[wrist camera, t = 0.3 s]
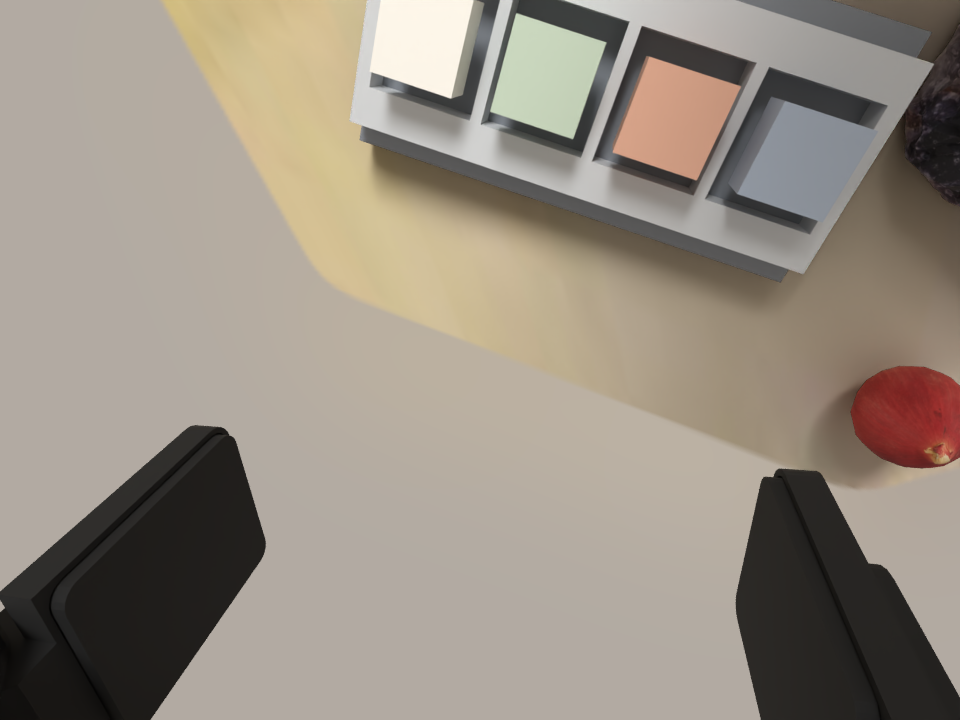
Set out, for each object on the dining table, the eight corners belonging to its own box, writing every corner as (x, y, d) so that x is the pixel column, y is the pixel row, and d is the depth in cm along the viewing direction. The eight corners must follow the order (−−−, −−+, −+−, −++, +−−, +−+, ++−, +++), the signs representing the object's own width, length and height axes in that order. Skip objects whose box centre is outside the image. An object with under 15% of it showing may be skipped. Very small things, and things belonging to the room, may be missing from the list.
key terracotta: (646, 56, 27) (649, 56, 25) (730, 83, 27) (741, 86, 25) (612, 144, 29) (612, 152, 27) (690, 170, 29) (696, 180, 27)
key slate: (771, 96, 27) (785, 100, 25) (856, 124, 27) (878, 131, 25) (727, 183, 29) (737, 194, 27) (806, 209, 29) (822, 222, 27)
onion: (960, 363, 35) (1046, 441, 28) (897, 433, 38) (961, 518, 31) (870, 330, 35) (933, 399, 28) (815, 402, 38) (860, 481, 31)
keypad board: (415, -126, 29) (388, -149, 25) (912, 33, 28) (954, 31, 24) (371, 135, 35) (346, 145, 32) (772, 270, 35) (790, 295, 31)
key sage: (523, 15, 27) (516, 13, 25) (606, 42, 27) (606, 42, 25) (499, 106, 29) (490, 111, 27) (575, 132, 29) (572, 139, 27)
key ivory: (402, -24, 28) (385, -30, 25) (484, 2, 27) (473, -1, 25) (387, 69, 30) (369, 71, 28) (462, 94, 30) (451, 98, 27)
